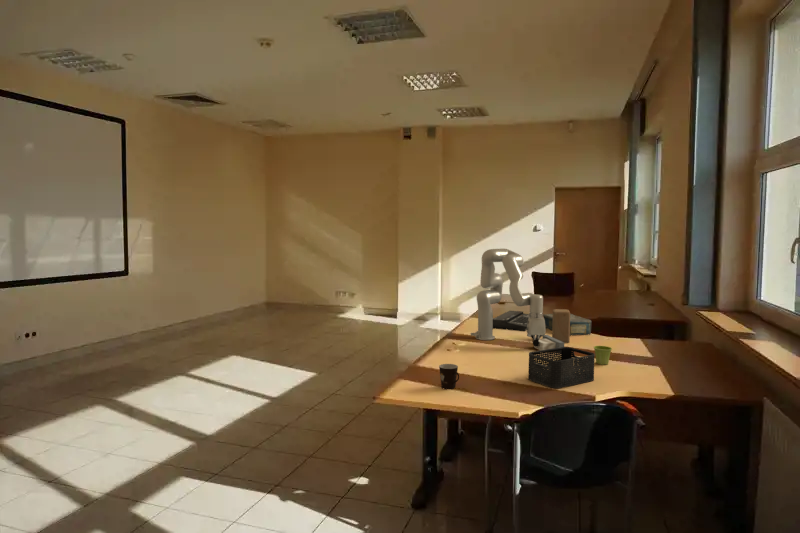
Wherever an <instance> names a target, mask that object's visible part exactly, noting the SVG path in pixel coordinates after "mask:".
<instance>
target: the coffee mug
mask: <svg viewBox="0 0 800 533" xmlns="http://www.w3.org/2000/svg"><path fill="white" fill-rule="evenodd" d="M438 367H439V376H440V377H439V378H440V386H441V389H443V388H444V390H447V389H451V390H454V388H456V385H457V382H458V381H459V380H460V375H459V374H460V373H458V368H459V366H458V365H457V364H453V363H442V364H439V366H438Z"/></svg>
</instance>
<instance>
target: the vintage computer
mask: <svg viewBox="0 0 800 533" xmlns="http://www.w3.org/2000/svg"><path fill="white" fill-rule="evenodd" d="M528 314H529V313H524V311H519V310H508V311H505V312H504V313H502V314H499V315H498V316H496V317H493V329H495V328H496V329H497V330H506V329H508V330H509V331H521V332H527V323H528V319H529V316H528ZM496 329H495V330H496Z"/></svg>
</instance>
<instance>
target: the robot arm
mask: <svg viewBox="0 0 800 533" xmlns="http://www.w3.org/2000/svg"><path fill="white" fill-rule="evenodd" d="M494 263H502V265H503V268H504V270H505V272H506V274H507V276H508V279H509V294H510V295H509V296H510V297H511V300H512V301H513V303H514V304H515V306H517V307H527V306H529V313H527V314H528V316H529V319H528V323H527V330H526V334H527V335H526V336H527V337H528V338H529V337H530V338H531V339H532V345H533V347H534V346H535V347H536V346H538V344H539V339H542V336H545V335H546V332H547V331H546V328H545V320H544V317H543V314H544V297H543V295H542V294H537V293H536V294H535V293H532V292H524V293H521V291H520V288H519V283H520V281H521V280H522V279H523V278H524V275H523V272H522V269H521V267H522V266H524V258H523V257H522V255H521V254H520V253H517V252H514V251H512V250H511V249H507V248H491V249H486V250H485V251H483V253H482V255H481V269H480V271H481V272H480V284H479V285H480V287H481V288H483V289H484V290H481V291H479V292H478V293H477V294H476V303H477V330H476V331H475V332H470V336H471V337H475V339H476V340H479V341H480V340H481V341H493V340H495V339H496V336H494V335H493V329H494V328H493V319H494V315H493V314H494V310H493V308H492V306H491V305H495V304H496V305H497V304H499V302H501V300H502V297H503V288H504V287H503V285H504V284H503V283H504V281H503V277H502V275H501V274H500V273H497V272H496V266H495V264H494Z"/></svg>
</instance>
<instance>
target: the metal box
mask: <svg viewBox="0 0 800 533" xmlns="http://www.w3.org/2000/svg"><path fill="white" fill-rule="evenodd" d="M543 318H544V320H545V329H547V330H549V331H552V320H553V313H547V314H544V313H543ZM591 332H592V320H591V319H589V318H584V317H581V316H579V315H576V314H575V315H574V314H573V313H570V336H571V335H572V336H584V335H585V336H586V335H588V334H589V335H591ZM572 336H571V337H572Z"/></svg>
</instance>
